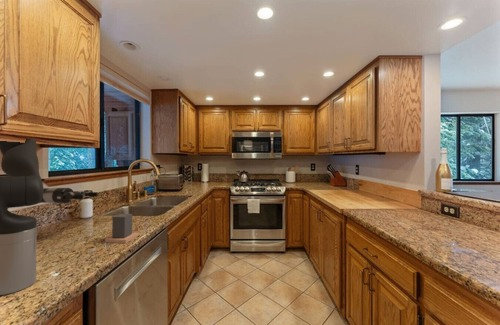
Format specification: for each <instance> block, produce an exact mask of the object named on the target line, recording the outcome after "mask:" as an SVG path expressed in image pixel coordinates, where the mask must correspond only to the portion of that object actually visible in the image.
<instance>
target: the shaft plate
mask: <svg viewBox="0 0 500 325" xmlns="http://www.w3.org/2000/svg"><path fill="white" fill-rule="evenodd" d="M137 237H139V232H132V234H131V235H129V236H128V237H126V238H112V235H110V236H109V237H107V238H105V239H104V240H105V241H104V242H105V243H108V244H109V243H110V244H114V243H115V244H127V243H129V242H130V241H132V240H134V239H136V238H137Z"/></svg>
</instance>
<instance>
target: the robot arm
mask: <svg viewBox="0 0 500 325" xmlns="http://www.w3.org/2000/svg"><path fill="white" fill-rule="evenodd" d="M36 141H37V140H36ZM36 141H35V140H34V139H30V138H29V139H26V141H25V143H20V142H7V141H0V153H1V155H2V157H1V162H0V164H1V165H0V167H1V170H2V172H3V173H4V174H5V175H7V176H0V296H4V295H10V294H14V293H17V292H20V291H22V290H25V289H26V288H28V287H29V288H30V287H31V286H33V285H34V284H35V282H36V281H37V226H38V224H37V223H38V222H37V218H36V217H34V216H30V215H29V216H28V215H23V214H17V213H14V212H11V211H9V209H10V208H11V209H13V208H22V207H31V206H35V205H38V204H42V203H44V204H45V203H47V204H49V203H50V204H69V203H70V202H72V201H75V200H83V199H86V198H97V197H98V196H99V194H98V192H96V191H95V192H94V191H88V190H87V191H84V190H83V191H82V190H81V191H79V190H75V191H74V190H73V189H72V188H71V187H52V188H51V187H49V188H47V187H46V188H45V187H44V184H43V180H42V178H41V175H40V166H39V164H40V163H39V157H38V154H37V146H38V143H36Z"/></svg>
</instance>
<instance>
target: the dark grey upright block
mask: <svg viewBox="0 0 500 325" xmlns="http://www.w3.org/2000/svg"><path fill="white" fill-rule="evenodd" d="M111 224H112V228H111V229H112V230H111V231H112V235H111V236H112V238H126V237H128V236H129V235H131V234H132V233H133V214H132V213H119V214H117V215H114V216H112V223H111Z"/></svg>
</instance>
